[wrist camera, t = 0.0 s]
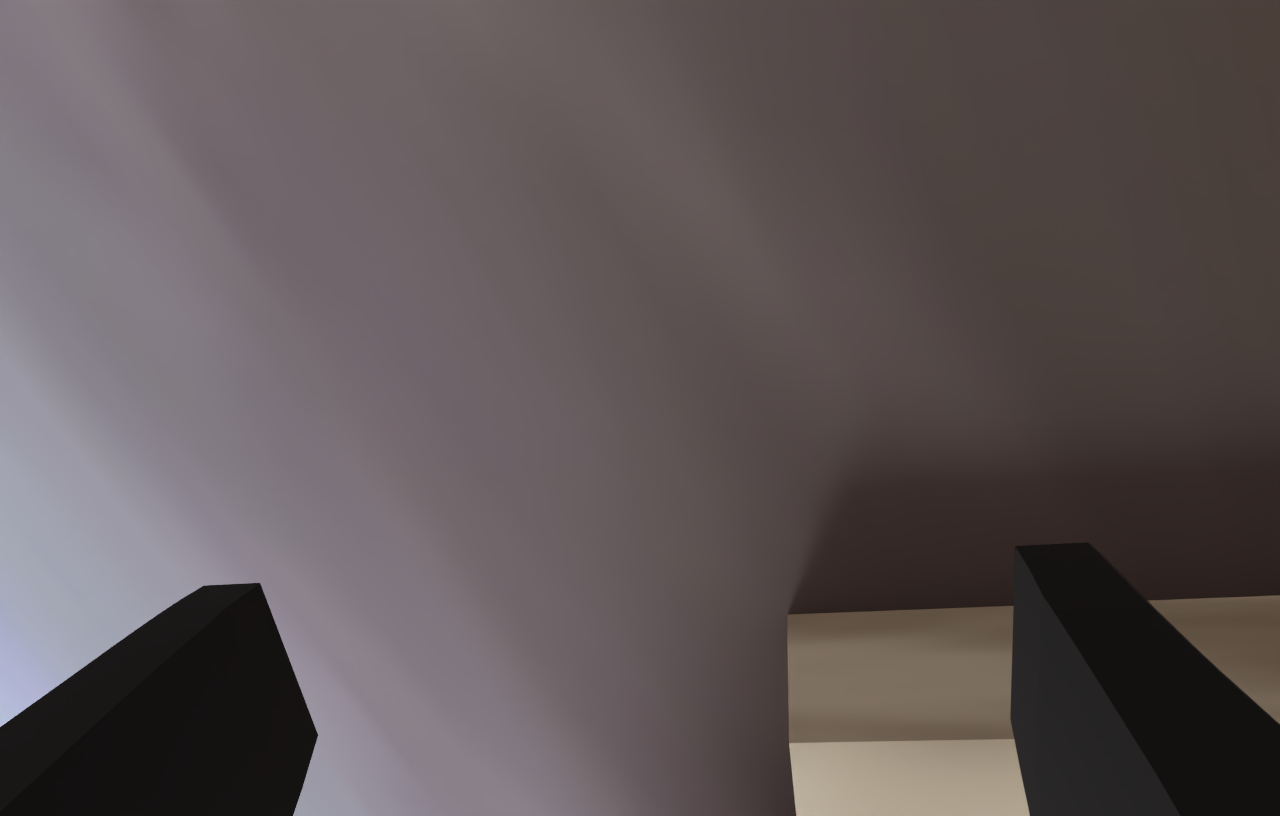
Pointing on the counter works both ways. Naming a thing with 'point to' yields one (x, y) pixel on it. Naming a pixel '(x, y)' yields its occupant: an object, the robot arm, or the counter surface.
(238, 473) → the counter surface
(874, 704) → the birch base
